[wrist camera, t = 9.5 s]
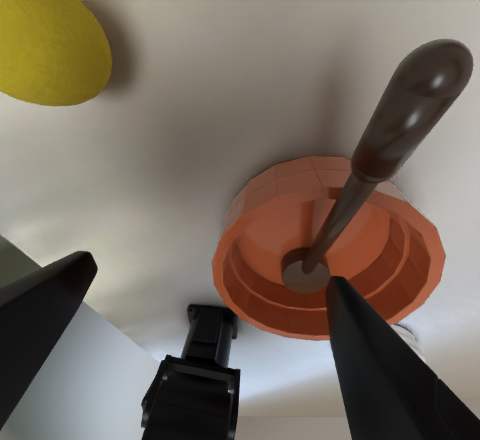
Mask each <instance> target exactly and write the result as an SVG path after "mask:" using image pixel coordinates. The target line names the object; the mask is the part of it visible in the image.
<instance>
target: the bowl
mask: <svg viewBox="0 0 480 440" xmlns="http://www.w3.org/2000/svg"><path fill="white" fill-rule="evenodd" d="M351 172H352V170H351V159H348V158H345V157H324V156H307V157H303V158H299V159H296V160H292V161H288V162H284V163H280V164H276V165H274V166H273V167H271V168H269V169H268V170H266V171H264V172H263V173H261V174H260V175H258V176H256V177H255V178H253V179H251V180H250V181H249V182H247V184H246V185H245V186H244V187H243V188H242V190H241V191H240V192H239V193H238V194H237V195H236V197H235V198H234V199H233V200H232V201H231V203H230V206H229V209H228V212H227V215H226V218H225V220H224V223H223V226H222V230H221V233H220V236H219V240H218V243H217V246H216V250H215V253H214V256H213V259H212V271H213V281H214V286H215V287H216V289H217V291H218V293H219V295H220V296H221V298H222V300H223V302H224V303H225V305H226V306H228V307H229V308H230V309H231V310H232V311H233V312H234V313H235V314H236V315H237V316H239V317H240V318H241V319H242V320H244V321H246V322H248V323H250V324H251V325H253V326H255V327H257V328H259V329H261V330H263V331H267V332H270V333H274V334H277V335H280V336H284V337H288V338H296V339H305V340H314V341H320V340H330V336H329V328H328V319H327V309H326V300H325V291H326V288H327V286H326V287H324V288H323V289H321V290H319V291H317V292H313V293H298V292H294V291H292V290H290V289H288V288H287V287H286V286H285V285H284V283H283V282H282V277H281V261H282V259H283V257H284V256H285V255H286V254H287V253H288V252H289V251H291V250H294V249H297V248H303V247H307V248H310V247H311V245H312V243H313V241H314V239H315V237H316V236H317V234H318V232H319V230H320V228H321V227H322V225H323V223H324V221H325V219H326V218H327V216H328V214H329V212H330V210H331V208H332V207H333V205H334V203H335V201H336V199H337V198H338V196H339V194H340V192H341V190H342V189H343V187H344V185H345V183H346V181H347V179H348V178H349V176H350V174H351ZM325 257H326V260H327V263H328V266H329V270H330V274H331V276H333V275H334V276H343V277H345V278H346V279H347V280H348V281H349V282H350V284H351V285H352V286H353V287H354V288H355V289H356V290H357V291H358V292H359V293H360V294H361V295H362V296H363V297H364V298H365V299H366V301H367V302H368V303H369V304H370V305H371V306H372V307H373V308H374V309H375V310H376V311H377V312H378V313H379V314H380V315H381V316H382V318H383V319H384V320H385V321H386V322H387V323H388V324H389V325H392V324H395V323H397V322H399V321H401V320H402V319H403V318H405V317H406V316H408V315H409V314H410V313H412V312H413V311H415V310H416V309H417V308H419V307H420V306H422V304H424V302H425V301H426V300H427V298H428V297H429V296H430V294H431V293H432V292H433V290H434V289H435V288H436V286H437V285H438V284H439V282H440V280H441V276H442V271H443V266H444V262H445V257H446V256H445V252H444V249H443V246H442V243H441V240H440V237H439V234H438V231H437V228H436V226H435V225H434V224H433V223H432V222H431V221H430V220H429V219H428V218H427V217H426V216H425V215H424V214H422V213H421V212H420V211H419V210H418V209H417V208H416V207H415V206H414V205H413V204H412V203H411V202H410V201H409V200H408V199H407V198H406V197H405V196H404V195H403V194H402V193H401V192H400V191H399V190H398V189H397V188H396V187H395V186H394V185H393V184H392V183H391V182H390V181H389V180H387V181H384V182H382V183H379V184H378V185H377V186H376V188H375V189H374V190H373V192H372V193H371V194H370V196H369V197H368V198H367V200H366V201H365V202H364V204H363V205H362V206H361V208H360V209H359V210H358V212H357V213H356V214H355V216H354V217H353V218H352V220H351V221H350V222H349V224H348V225H347V226H346V228H345V229H344V230H343V232H342V233H341V234H340V236H339V237H338V238H337V240H336V241H335V242H334V244H333V245H332V246H331V248H330V249H329V250H328V252H327V253H326V254H325Z"/></svg>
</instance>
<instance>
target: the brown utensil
mask: <svg viewBox="0 0 480 440" xmlns="http://www.w3.org/2000/svg"><path fill="white" fill-rule="evenodd" d="M472 70H473V57H472V54H471V52H470V50H469V49H468V48H467V47H466V46H465V45H464V44H463V43H461V42H459V41H456V40H452V39H440V40H434V41H431V42H428V43H426V44H423V45H421V46H420V47H418V48H416V49H415V50H413V51H412V52H411V53H410V54H409V55H407V56H406V57H405V58H404V59H403V60H402V62H401V63H400V64H399V66H398V67H397V69H396V70H395V72H394V74H393V76H392V78H391V80H390V82H389V84H388V86H387V88H386V90H385V92H384V94H383V96H382V98H381V99H380V101H379V103H378V105H377V107H376V109H375V111H374V113H373V115H372V117H371V119H370V121H369V123H368V125H367V127H366V129H365V131H364V133H363V135H362V137H361V139H360V141H359V143H358V145H357V147H356V149H355V151H354V153H353V155H352V158H351V170H352V172H351V174H350V176H349V178H348V179H347V181H346V183H345V185H344V187H343V189H342V190H341V192H340V194H339V196H338V198H337V199H336V201H335V203H334V205H333V207H332V208H331V210H330V212H329V214H328V216H327V218H326V219H325V221H324V223H323V225H322V227H321V228H320V230H319V232H318V234H317V236H316V237H315V239H314V241H313V243H312V245H311V247H310V248H307V247H303V248H297V249H294V250H291V251H289V252H288V253H287V254H286V255H285V256H284V257H283V259H282V261H281V277H282V282H283V283H284V285H285V286H286V287H287V288H288V289H290V290H292V291H294V292H298V293H313V292H317V291H319V290H321V289H323V288H324V287H326V286H327V285H328V282H329V279H330V277H331V274H330V270H329V266H328V263H327V260H326V257H325V254H326V253H327V252H328V250H329V249H330V248H331V246H332V245H333V244H334V242H335V241H336V240H337V238H338V237H339V236H340V234H341V233H342V232H343V230H344V229H345V228H346V226H347V225H348V224H349V222H350V221H351V220H352V218H353V217H354V216H355V214H356V213H357V212H358V210H359V209H360V208H361V206H362V205H363V204H364V202H365V201H366V200H367V198H368V197H369V196H370V194H371V193H372V192H373V190H374V189H375V188H376V186H377V185H378V184H379V183H382V182H384V181H387V180H388V179H390V178H392V177H393V176H394V175H395V174H396V173H397V172H398V171H399V169H400V168H401V167H402V166H403V164H404V163H405V162H406V161H407V159H408V158H409V157H410V156H411V154H412V153H413V152H414V151H415V149H416V148H417V147H418V146H419V145H420V143H421V142H422V141H423V140H424V138H425V137H426V136H427V135H428V133H429V132H430V131H431V130H432V128H433V127H434V126H435V125H436V123H437V122H438V121H439V120H440V118H441V117H442V116H443V115H444V113H445V112H446V111H447V110H448V109H449V107H450V106H451V105H452V104H453V102H454V101H455V100H456V99H457V97H458V96H459V95H460V94H461V92H462V91H463V90H464V88H465V87H466V85H467V84H468V82H469V79H470V77H471V75H472Z"/></svg>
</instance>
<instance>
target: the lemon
mask: <svg viewBox="0 0 480 440" xmlns="http://www.w3.org/2000/svg"><path fill="white" fill-rule="evenodd" d="M111 69H112V55H111V50H110V46H109V42H108V40H107V37H106V35H105V33H104V31H103V29H102V27H101V25H100V24H99V22H98V21H97V19H96V18H95V16H94V15H93V13H92V12H91V11H90V10H89V9H88V8H87V7H86V6H85V5H84V4H83V2H82V1H81V0H0V91H1V92H3V93H5V94H7V95H9V96H11V97H14V98H16V99H19V100H22V101H26V102H30V103H34V104H39V105H46V106H70V105H77V104H81V103H83V102H85V101H88V100H90V99H92V98H94V97H96V96H97V95H98V94H99V93H100V92H101V91H102V90H103V89H104V88H105V86H106V85H107V83H108V81H109V78H110V75H111Z"/></svg>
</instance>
